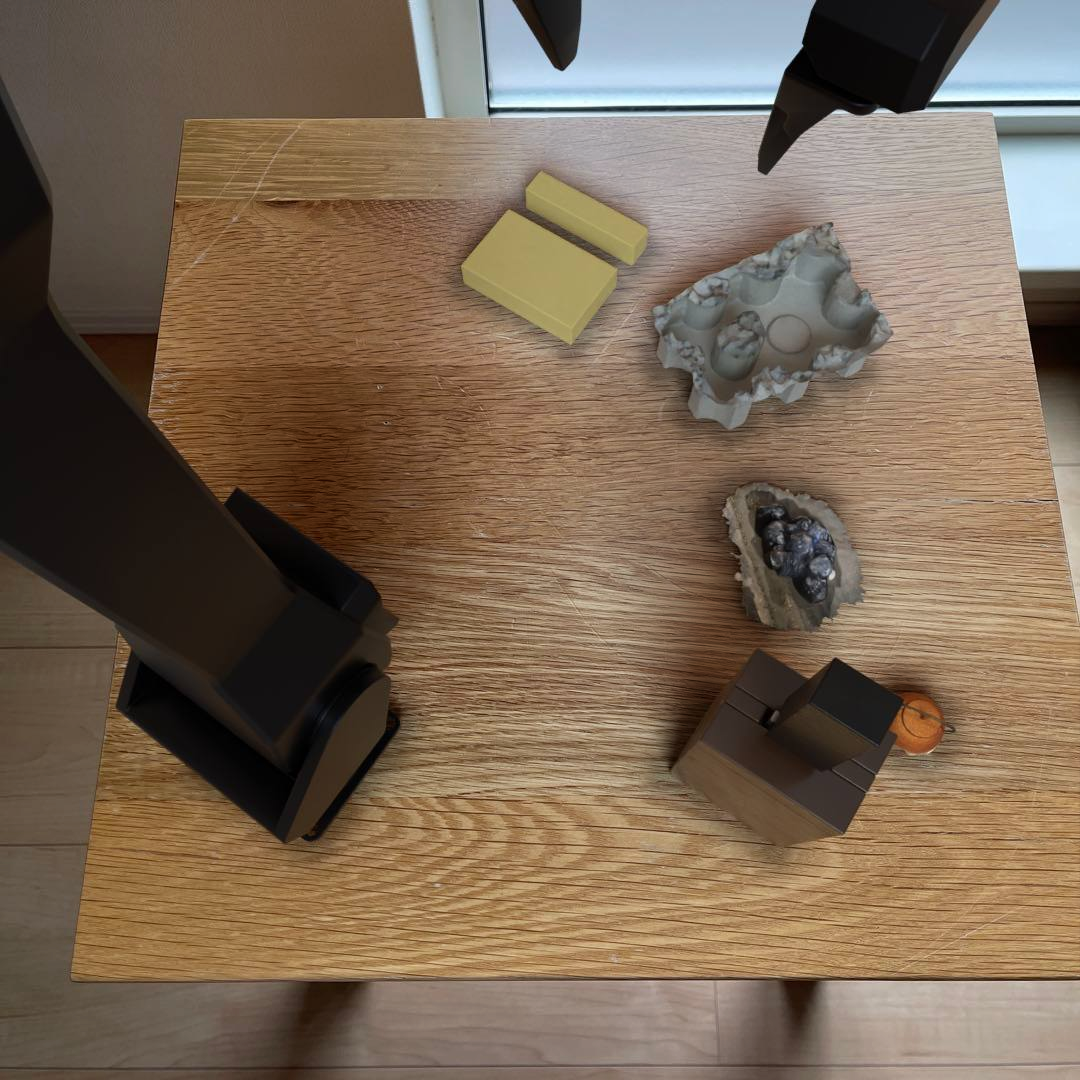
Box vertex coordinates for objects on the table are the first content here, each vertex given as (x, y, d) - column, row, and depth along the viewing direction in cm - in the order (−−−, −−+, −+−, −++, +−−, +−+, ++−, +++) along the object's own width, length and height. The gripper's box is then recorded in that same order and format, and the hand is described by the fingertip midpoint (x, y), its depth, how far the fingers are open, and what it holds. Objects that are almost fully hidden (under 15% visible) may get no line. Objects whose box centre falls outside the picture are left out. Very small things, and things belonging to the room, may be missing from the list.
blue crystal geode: (773, 660, 43) (783, 650, 42) (677, 522, 46) (682, 507, 44) (890, 588, 45) (904, 575, 43) (790, 456, 47) (799, 439, 45)
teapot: (899, 766, 42) (920, 758, 39) (865, 704, 43) (884, 692, 40) (956, 741, 42) (981, 731, 40) (921, 679, 43) (943, 666, 41)
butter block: (571, 345, 50) (571, 328, 48) (463, 283, 51) (460, 265, 49) (616, 286, 51) (618, 268, 49) (509, 227, 52) (508, 208, 51)
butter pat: (632, 266, 51) (634, 247, 50) (525, 208, 53) (524, 188, 51) (646, 247, 52) (649, 228, 50) (541, 190, 53) (540, 170, 52)
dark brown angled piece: (809, 781, 33) (882, 749, 26) (750, 742, 34) (805, 700, 26) (831, 743, 34) (909, 701, 26) (772, 705, 34) (832, 654, 27)
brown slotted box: (779, 848, 41) (844, 835, 31) (668, 773, 42) (699, 740, 33) (824, 769, 42) (899, 735, 33) (714, 698, 43) (757, 646, 34)
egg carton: (817, 263, 51) (839, 211, 47) (886, 375, 49) (915, 330, 45) (637, 328, 50) (644, 281, 46) (699, 446, 47) (712, 407, 43)
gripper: (1253, -450, 22) (976, 83, 37) (594, -654, 26) (578, -100, 41) (1062, -191, 19) (841, 281, 34) (343, -469, 23) (424, 62, 38)
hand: (664, 113), depth 37 cm, fingers open, 9 cm apart
